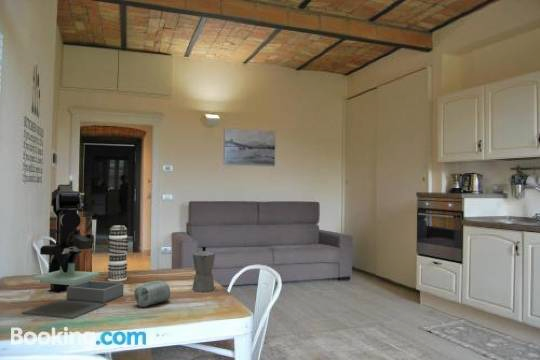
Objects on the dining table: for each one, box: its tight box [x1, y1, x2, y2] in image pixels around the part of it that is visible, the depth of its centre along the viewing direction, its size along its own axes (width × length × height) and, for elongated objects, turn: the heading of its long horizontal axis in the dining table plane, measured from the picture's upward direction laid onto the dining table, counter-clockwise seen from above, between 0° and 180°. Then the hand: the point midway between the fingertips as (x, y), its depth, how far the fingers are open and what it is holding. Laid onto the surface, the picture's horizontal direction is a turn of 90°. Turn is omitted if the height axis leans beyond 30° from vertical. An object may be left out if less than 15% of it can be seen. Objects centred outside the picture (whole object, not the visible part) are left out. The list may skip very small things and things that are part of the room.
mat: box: [21, 299, 108, 320], centre depth 142 cm, size 20×17×1 cm
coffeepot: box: [191, 246, 216, 293], centre depth 174 cm, size 15×9×18 cm, turn 13°
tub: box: [66, 280, 125, 304], centre depth 157 cm, size 16×12×5 cm
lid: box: [32, 262, 100, 286], centre depth 143 cm, size 17×13×6 cm
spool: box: [134, 280, 171, 308], centre depth 150 cm, size 14×10×10 cm
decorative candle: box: [107, 224, 130, 282], centre depth 192 cm, size 9×9×25 cm
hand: (66, 272), depth 143 cm, fingers closed on lid
